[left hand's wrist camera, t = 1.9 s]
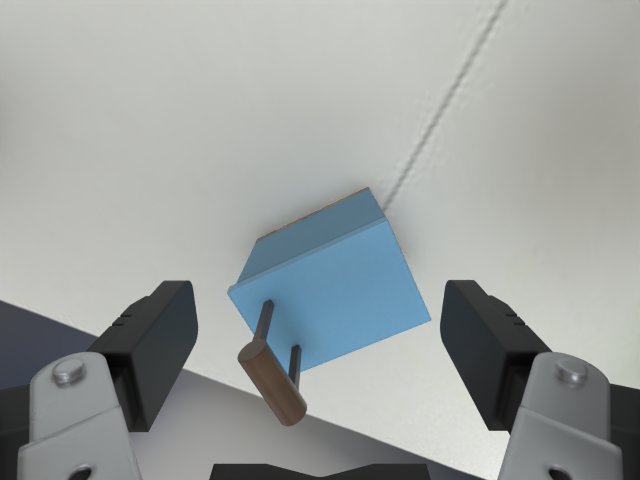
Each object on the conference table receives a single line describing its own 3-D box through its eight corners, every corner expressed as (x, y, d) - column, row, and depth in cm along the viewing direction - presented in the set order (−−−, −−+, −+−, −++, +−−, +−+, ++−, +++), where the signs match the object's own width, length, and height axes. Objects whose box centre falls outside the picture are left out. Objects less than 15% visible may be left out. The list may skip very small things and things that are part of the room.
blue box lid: (284, 371, 33) (271, 457, 25) (229, 286, 30) (195, 352, 22) (428, 313, 31) (466, 387, 23) (385, 215, 28) (411, 260, 19)
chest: (297, 307, 43) (290, 368, 33) (257, 239, 40) (235, 283, 30) (401, 262, 41) (428, 313, 31) (368, 187, 38) (385, 215, 28)
